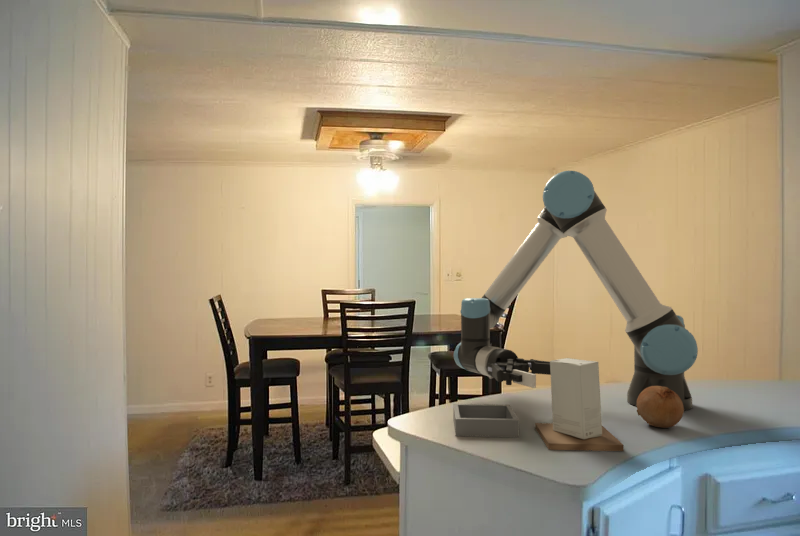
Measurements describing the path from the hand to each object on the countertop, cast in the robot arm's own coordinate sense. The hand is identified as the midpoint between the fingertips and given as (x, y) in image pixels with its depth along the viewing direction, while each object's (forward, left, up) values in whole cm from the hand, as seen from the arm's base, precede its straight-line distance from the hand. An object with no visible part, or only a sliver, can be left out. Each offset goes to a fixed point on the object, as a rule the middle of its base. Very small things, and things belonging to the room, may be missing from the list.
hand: (559, 378), depth 112 cm
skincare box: (-2, +4, -11) cm, 11 cm away
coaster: (-2, +4, -12) cm, 12 cm away
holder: (+16, -3, -12) cm, 20 cm away
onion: (-23, -7, -12) cm, 27 cm away
